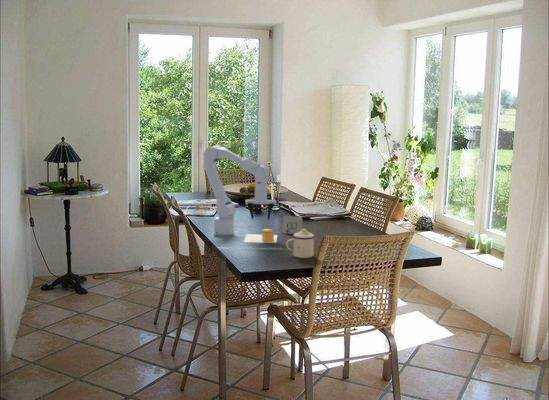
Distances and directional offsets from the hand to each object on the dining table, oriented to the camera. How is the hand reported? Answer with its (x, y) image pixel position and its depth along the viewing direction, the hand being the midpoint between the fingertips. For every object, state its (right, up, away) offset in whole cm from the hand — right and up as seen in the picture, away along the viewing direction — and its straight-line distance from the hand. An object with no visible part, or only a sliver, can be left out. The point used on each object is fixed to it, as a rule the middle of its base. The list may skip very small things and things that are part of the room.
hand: (260, 219), depth 286 cm
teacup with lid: (+18, -15, -29) cm, 37 cm away
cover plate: (0, -10, -3) cm, 10 cm away
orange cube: (+4, -10, -7) cm, 13 cm away
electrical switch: (+15, -8, +10) cm, 20 cm away
